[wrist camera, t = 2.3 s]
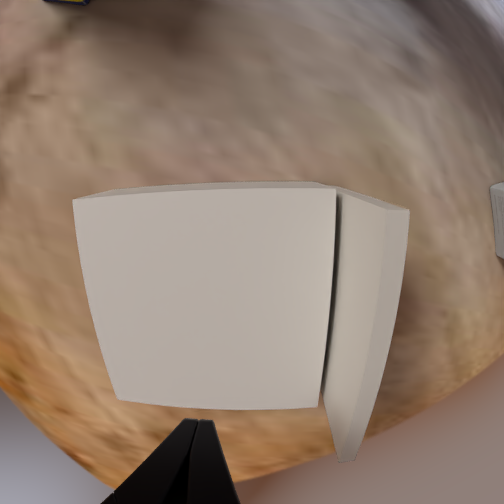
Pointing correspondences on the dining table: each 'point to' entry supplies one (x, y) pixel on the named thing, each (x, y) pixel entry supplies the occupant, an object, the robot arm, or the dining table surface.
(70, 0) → the supplement box
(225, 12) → the dining table surface
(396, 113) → the dining table surface
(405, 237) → the flap
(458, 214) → the dining table surface
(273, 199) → the carton
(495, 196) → the skincare box
